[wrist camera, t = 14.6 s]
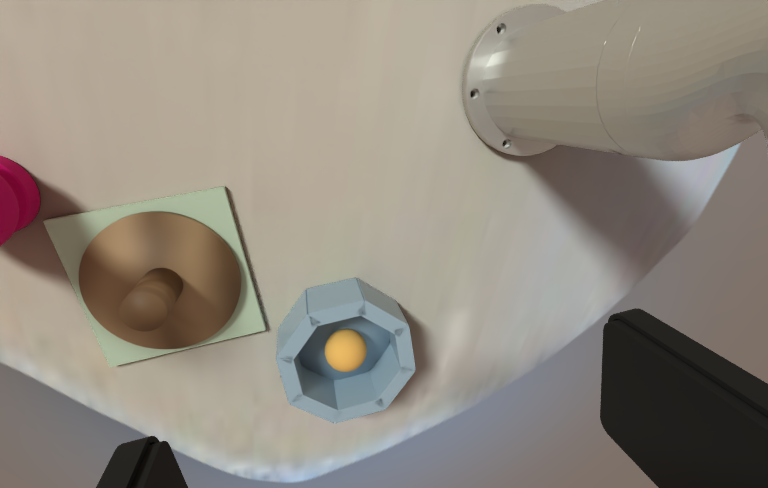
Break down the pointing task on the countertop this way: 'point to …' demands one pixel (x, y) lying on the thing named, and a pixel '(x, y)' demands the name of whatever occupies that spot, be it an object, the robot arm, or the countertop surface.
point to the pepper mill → (16, 198)
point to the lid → (160, 280)
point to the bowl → (308, 361)
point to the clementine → (345, 350)
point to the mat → (201, 205)
